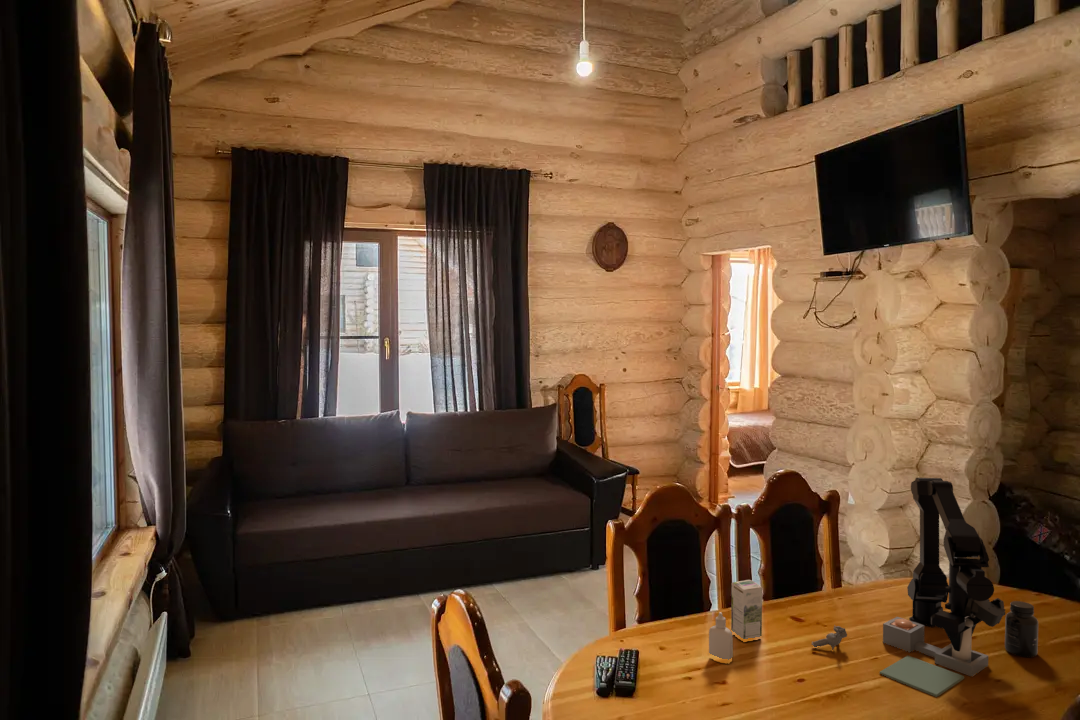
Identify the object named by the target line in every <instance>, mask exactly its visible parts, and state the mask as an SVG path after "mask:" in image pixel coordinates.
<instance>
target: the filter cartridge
mask: <svg viewBox="0 0 1080 720" xmlns="http://www.w3.org/2000/svg"><path fill="white" fill-rule="evenodd" d="M965 619H966V621H965V626H968V627H970V628H969V629H967V630H966V631H964V632H963V638H962V644H961V649H960V651H956V650H954V648H953V646H952V657H953V658H956V659H959V660H961V661H964V662H967V663H971V650H972V637H973V634H972V627H973V621H972V620H970V619H968V618H965Z"/></svg>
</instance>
